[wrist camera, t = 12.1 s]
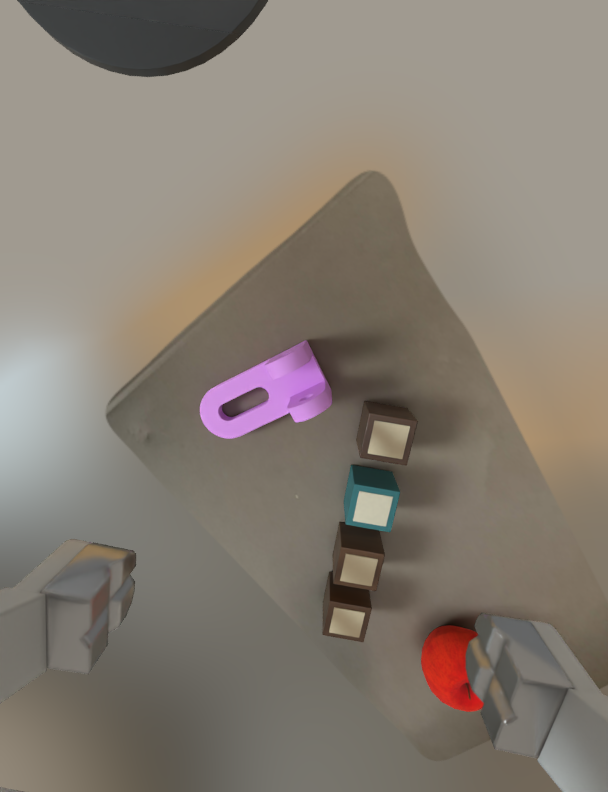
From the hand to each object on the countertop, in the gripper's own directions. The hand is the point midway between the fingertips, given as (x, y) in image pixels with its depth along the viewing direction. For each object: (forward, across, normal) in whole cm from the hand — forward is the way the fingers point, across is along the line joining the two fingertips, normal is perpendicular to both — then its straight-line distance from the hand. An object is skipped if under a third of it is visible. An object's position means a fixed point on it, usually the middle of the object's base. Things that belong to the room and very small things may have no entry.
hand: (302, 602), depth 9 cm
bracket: (+29, +6, +3) cm, 30 cm away
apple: (+29, -20, +28) cm, 45 cm away
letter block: (+29, -7, +11) cm, 32 cm away
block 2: (+29, -7, +24) cm, 39 cm away
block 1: (+29, -7, +18) cm, 35 cm away
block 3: (+29, -7, +4) cm, 30 cm away
